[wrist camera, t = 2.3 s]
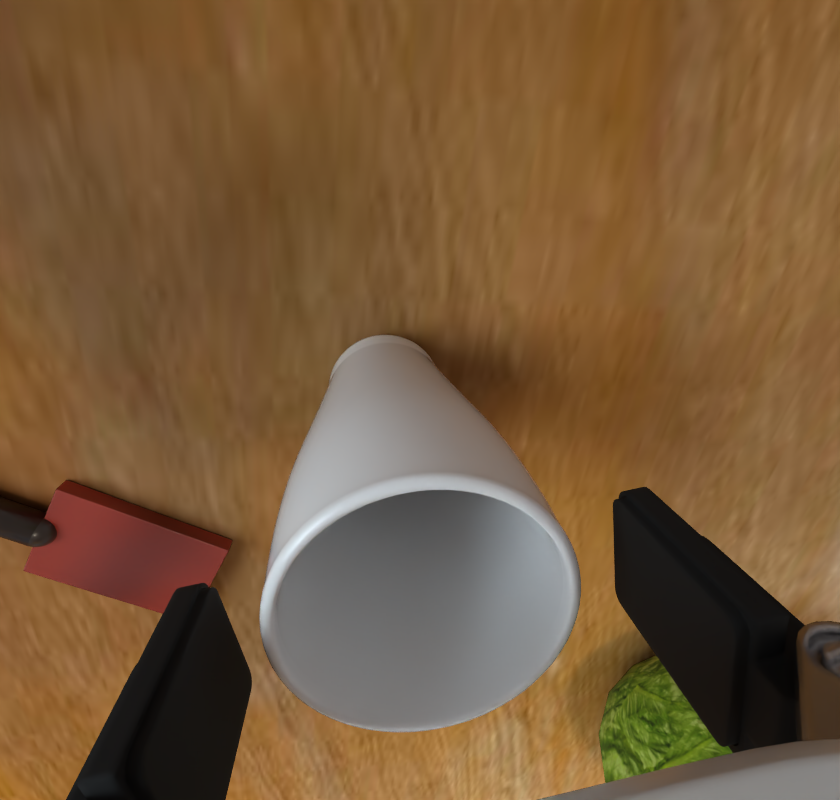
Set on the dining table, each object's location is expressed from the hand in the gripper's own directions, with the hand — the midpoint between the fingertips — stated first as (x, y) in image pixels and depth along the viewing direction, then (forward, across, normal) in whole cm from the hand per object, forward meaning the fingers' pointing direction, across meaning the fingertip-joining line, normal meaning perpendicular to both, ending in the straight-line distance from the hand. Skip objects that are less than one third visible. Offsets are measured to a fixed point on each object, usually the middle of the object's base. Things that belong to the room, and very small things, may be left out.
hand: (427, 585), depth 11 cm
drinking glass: (+14, 0, 0) cm, 14 cm away
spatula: (+14, +19, +2) cm, 23 cm away
